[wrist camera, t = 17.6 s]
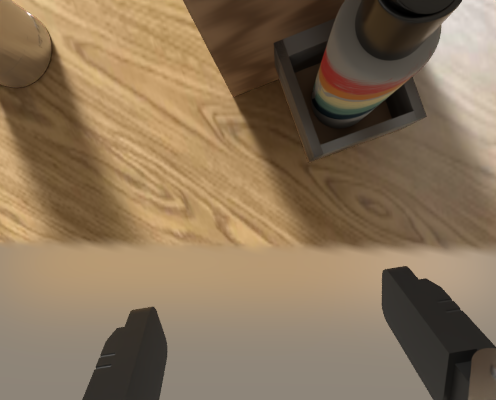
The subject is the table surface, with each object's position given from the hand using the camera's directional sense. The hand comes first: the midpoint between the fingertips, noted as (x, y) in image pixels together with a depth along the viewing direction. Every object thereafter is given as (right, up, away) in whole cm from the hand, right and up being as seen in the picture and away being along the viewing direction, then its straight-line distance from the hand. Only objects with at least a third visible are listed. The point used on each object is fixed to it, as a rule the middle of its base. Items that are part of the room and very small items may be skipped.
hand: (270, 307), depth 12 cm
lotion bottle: (+8, +14, +22) cm, 27 cm away
